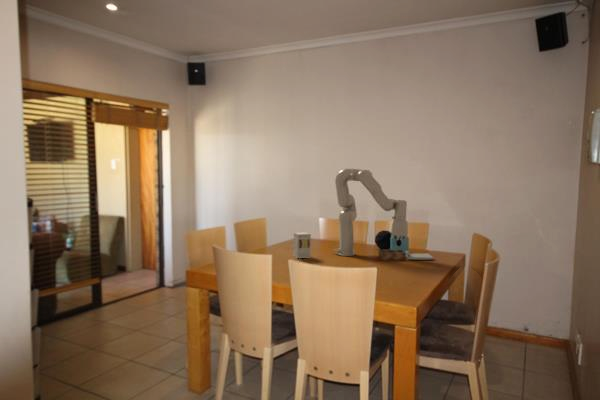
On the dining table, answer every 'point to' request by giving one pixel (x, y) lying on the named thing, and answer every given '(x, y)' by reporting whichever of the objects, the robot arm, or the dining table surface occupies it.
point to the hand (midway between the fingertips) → (398, 245)
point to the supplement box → (302, 245)
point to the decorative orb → (383, 240)
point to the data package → (403, 246)
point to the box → (391, 255)
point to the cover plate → (418, 256)
